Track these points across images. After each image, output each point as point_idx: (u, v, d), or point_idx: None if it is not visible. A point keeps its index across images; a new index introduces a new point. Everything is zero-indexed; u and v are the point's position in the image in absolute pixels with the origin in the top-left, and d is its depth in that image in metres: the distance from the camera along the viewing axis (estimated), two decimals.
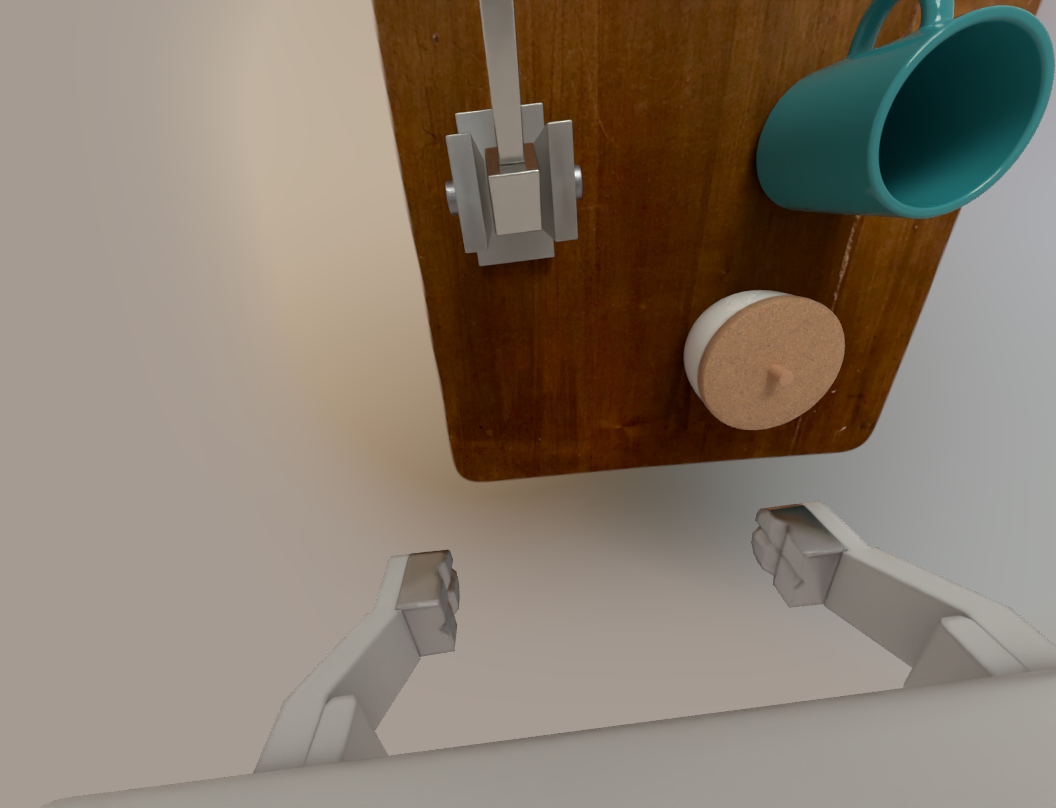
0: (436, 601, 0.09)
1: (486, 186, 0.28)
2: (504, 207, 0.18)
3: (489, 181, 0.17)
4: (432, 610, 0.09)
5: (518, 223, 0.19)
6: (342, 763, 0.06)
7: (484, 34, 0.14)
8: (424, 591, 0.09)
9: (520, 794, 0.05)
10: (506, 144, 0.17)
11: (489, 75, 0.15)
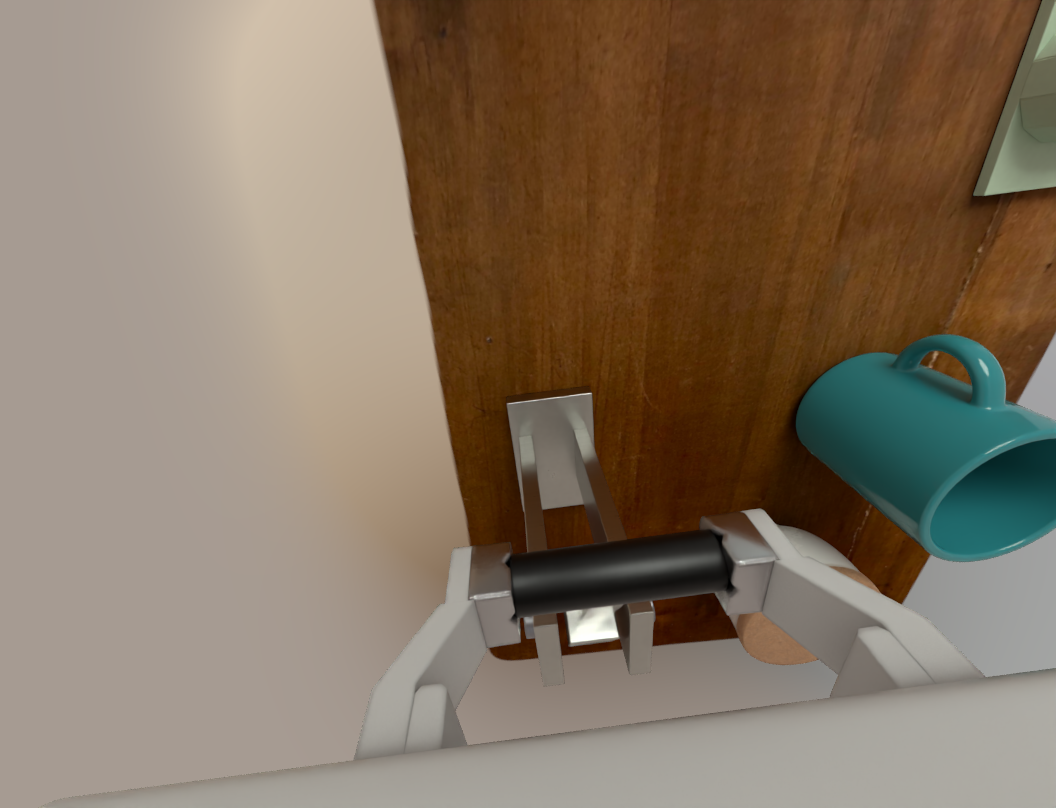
0: (508, 592, 0.09)
1: None
2: (580, 644, 0.19)
3: (571, 645, 0.18)
4: (503, 601, 0.09)
5: (591, 643, 0.20)
6: (342, 763, 0.06)
7: (585, 615, 0.14)
8: (494, 582, 0.09)
9: (520, 794, 0.05)
10: (589, 622, 0.17)
11: (584, 618, 0.15)
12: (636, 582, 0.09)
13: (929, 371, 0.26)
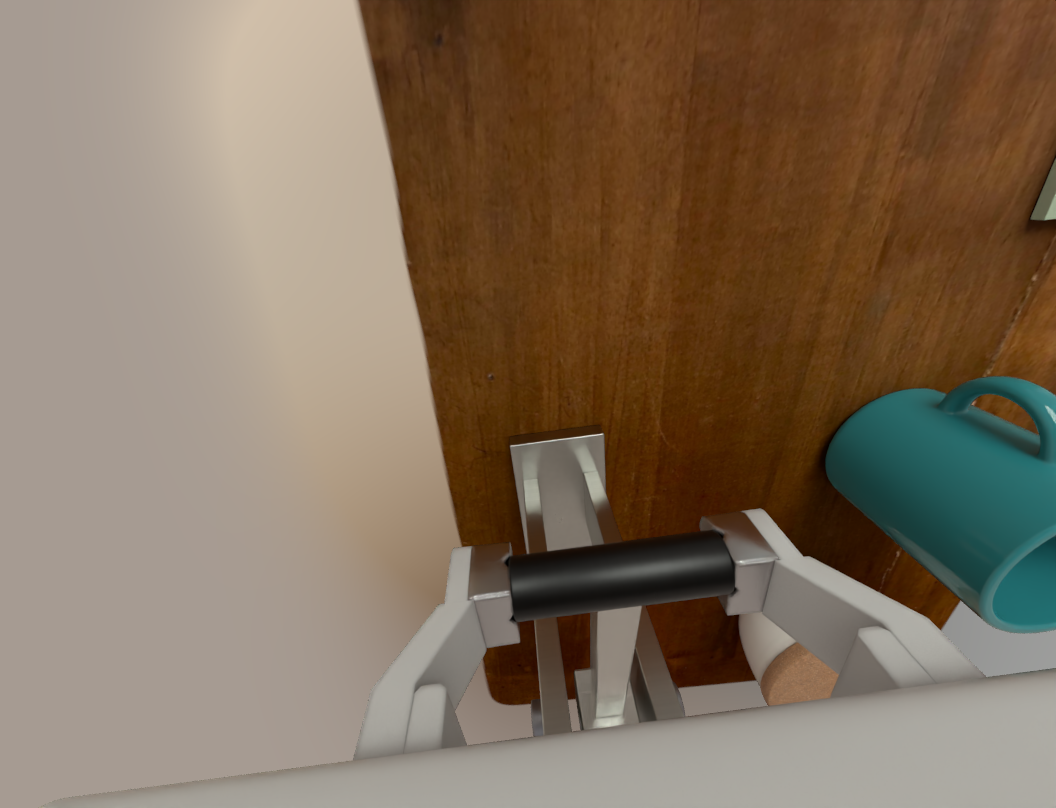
0: (507, 592, 0.09)
1: None
2: None
3: None
4: (503, 601, 0.09)
5: None
6: (342, 763, 0.06)
7: (597, 677, 0.13)
8: (493, 582, 0.09)
9: (521, 794, 0.05)
10: (606, 710, 0.15)
11: (597, 690, 0.13)
12: (638, 574, 0.09)
13: (981, 414, 0.23)
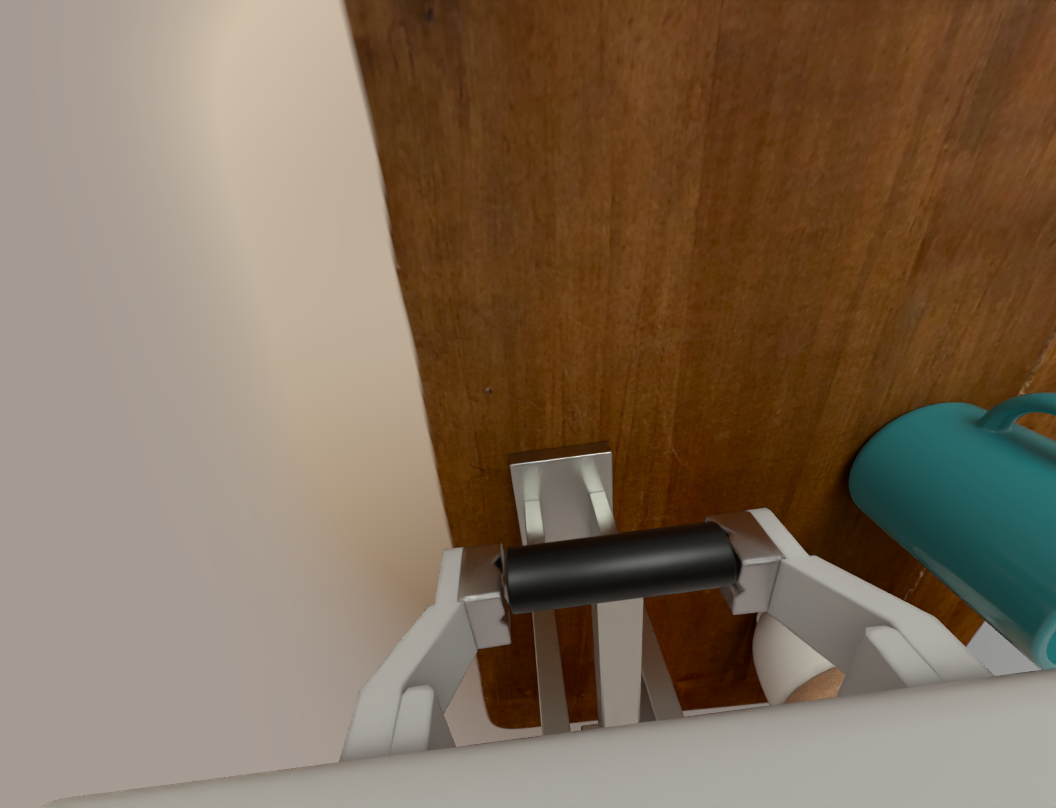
0: (498, 593, 0.09)
1: None
2: None
3: None
4: (493, 602, 0.09)
5: None
6: (342, 763, 0.06)
7: (603, 712, 0.12)
8: (484, 583, 0.09)
9: (521, 794, 0.05)
10: None
11: None
12: (635, 559, 0.09)
13: (1026, 433, 0.21)
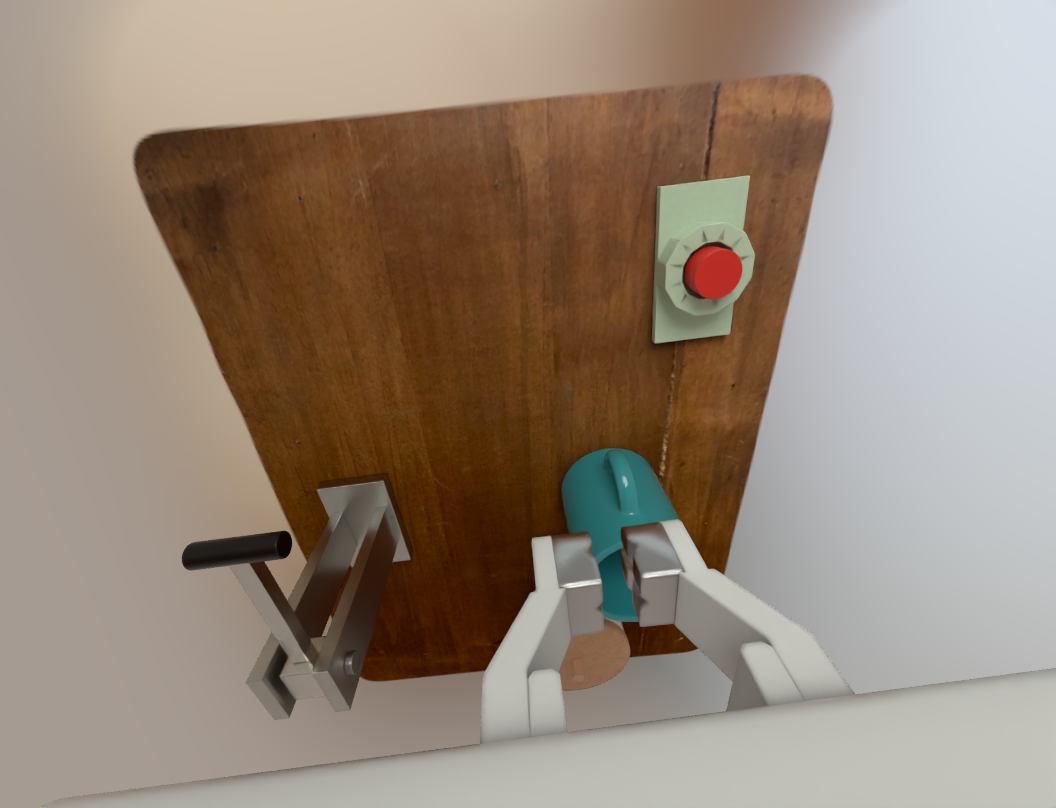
0: (599, 580, 0.09)
1: (341, 543, 0.37)
2: (295, 688, 0.26)
3: (280, 678, 0.26)
4: (593, 589, 0.09)
5: (308, 694, 0.27)
6: (342, 763, 0.06)
7: (265, 621, 0.24)
8: (582, 570, 0.09)
9: (520, 794, 0.05)
10: (293, 655, 0.26)
11: (273, 633, 0.25)
12: (237, 547, 0.22)
13: None
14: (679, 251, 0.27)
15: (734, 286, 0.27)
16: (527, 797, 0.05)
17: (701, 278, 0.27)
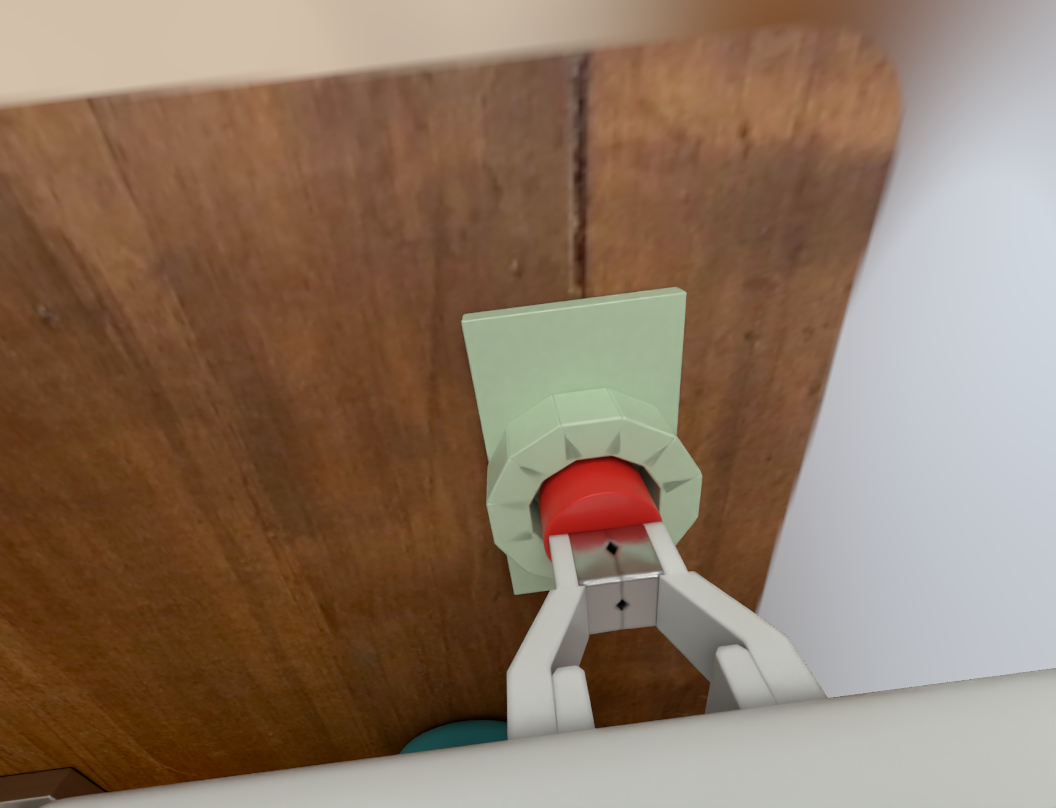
0: (618, 577, 0.09)
1: None
2: None
3: None
4: (613, 586, 0.09)
5: None
6: (342, 763, 0.06)
7: None
8: (601, 568, 0.09)
9: (521, 795, 0.05)
10: None
11: None
12: None
13: None
14: (513, 479, 0.11)
15: None
16: (527, 797, 0.05)
17: None
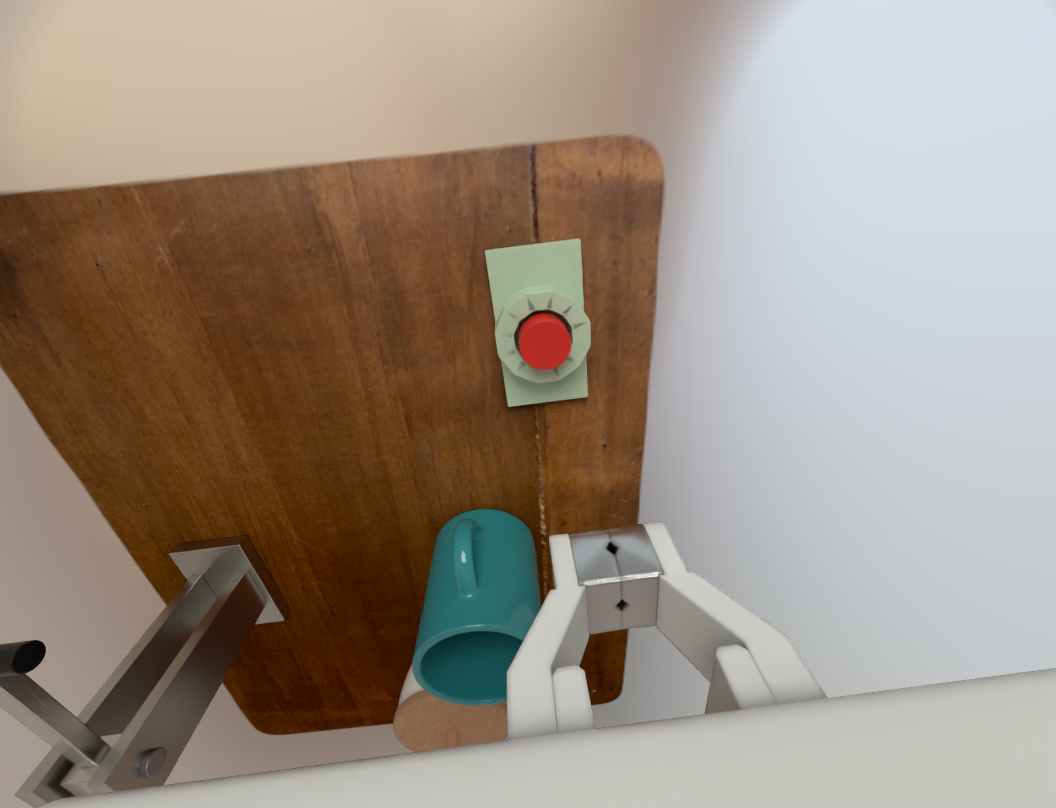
0: (618, 578, 0.09)
1: (195, 610, 0.35)
2: (82, 794, 0.24)
3: None
4: (613, 587, 0.09)
5: None
6: (342, 763, 0.06)
7: (31, 730, 0.22)
8: (601, 568, 0.09)
9: (521, 795, 0.05)
10: (76, 761, 0.24)
11: None
12: None
13: (484, 540, 0.32)
14: (506, 319, 0.26)
15: (565, 357, 0.26)
16: (527, 797, 0.05)
17: (527, 349, 0.25)
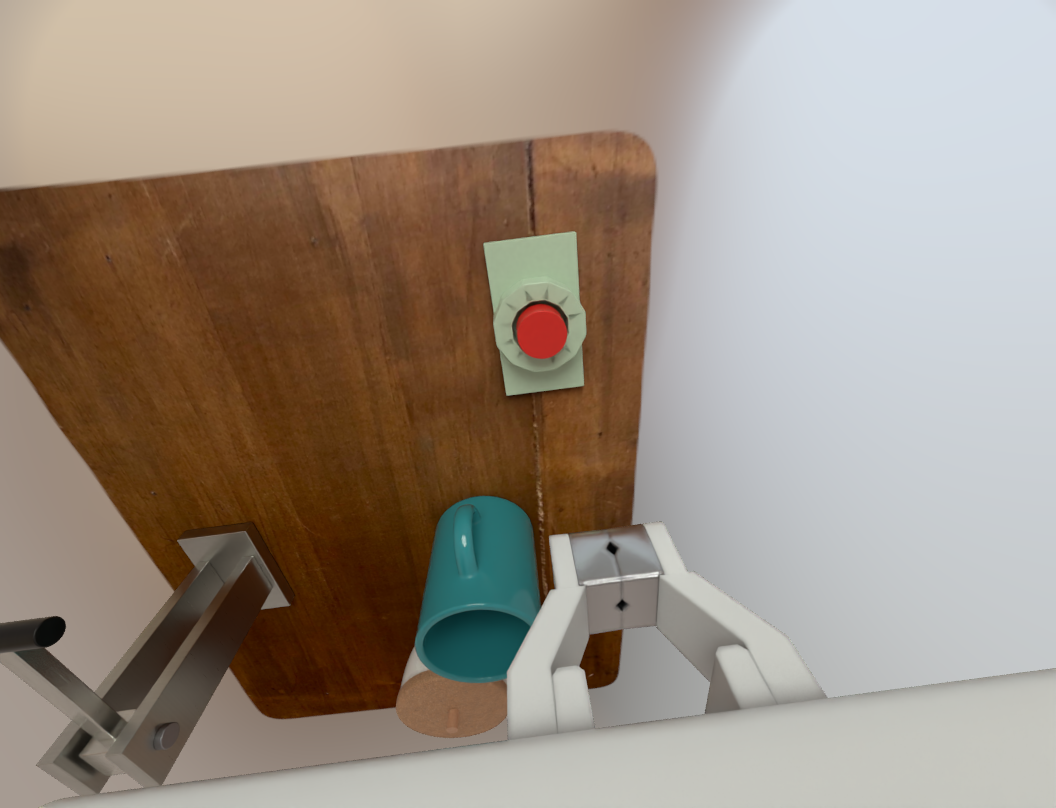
0: (619, 578, 0.09)
1: (203, 594, 0.36)
2: (100, 765, 0.25)
3: None
4: (613, 587, 0.09)
5: (117, 770, 0.26)
6: (342, 763, 0.06)
7: (52, 703, 0.23)
8: (601, 568, 0.09)
9: (521, 795, 0.05)
10: (94, 733, 0.25)
11: None
12: None
13: (483, 525, 0.33)
14: (504, 310, 0.27)
15: (561, 346, 0.27)
16: (527, 797, 0.05)
17: (524, 339, 0.26)
